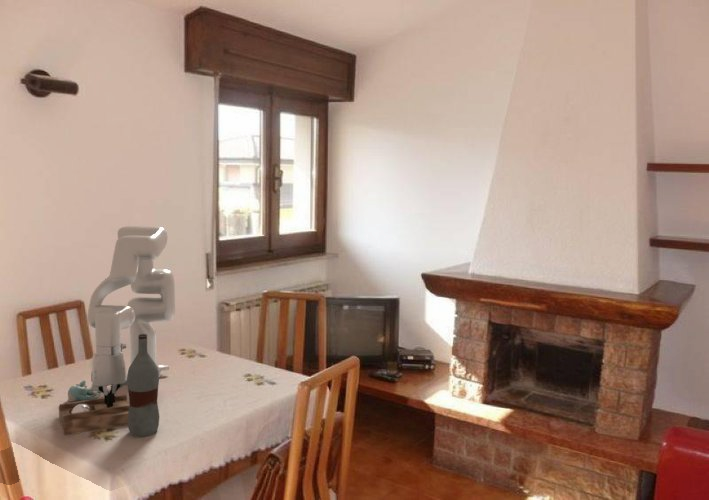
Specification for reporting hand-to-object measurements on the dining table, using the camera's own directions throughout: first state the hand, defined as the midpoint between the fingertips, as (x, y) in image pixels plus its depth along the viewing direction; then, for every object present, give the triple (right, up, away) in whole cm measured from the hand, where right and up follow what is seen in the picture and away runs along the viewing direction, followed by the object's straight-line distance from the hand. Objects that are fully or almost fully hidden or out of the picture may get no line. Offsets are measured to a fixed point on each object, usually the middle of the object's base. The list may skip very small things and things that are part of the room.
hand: (109, 405), depth 190 cm
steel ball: (-7, -1, -5) cm, 9 cm away
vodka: (+14, -6, -9) cm, 18 cm away
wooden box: (-3, -4, -2) cm, 6 cm away
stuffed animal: (-15, -2, +16) cm, 22 cm away
